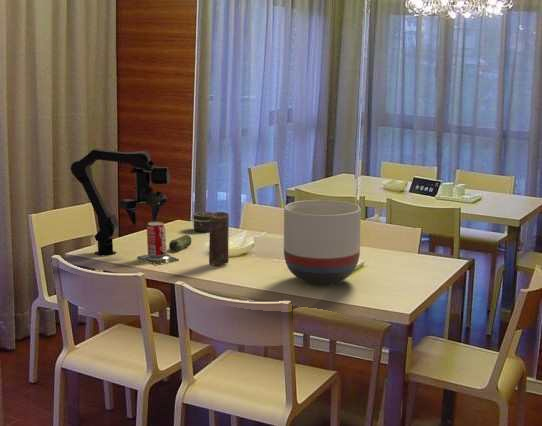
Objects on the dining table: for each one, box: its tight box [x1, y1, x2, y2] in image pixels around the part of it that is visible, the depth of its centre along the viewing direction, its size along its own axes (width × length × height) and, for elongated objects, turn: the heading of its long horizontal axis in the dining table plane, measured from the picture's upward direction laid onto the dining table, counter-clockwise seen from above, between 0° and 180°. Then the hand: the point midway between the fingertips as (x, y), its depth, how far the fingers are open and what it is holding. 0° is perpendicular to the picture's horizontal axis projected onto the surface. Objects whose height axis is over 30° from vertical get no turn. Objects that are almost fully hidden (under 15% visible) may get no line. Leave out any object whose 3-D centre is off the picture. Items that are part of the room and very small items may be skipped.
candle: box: [208, 211, 230, 267], centre depth 312 cm, size 8×7×20 cm
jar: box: [192, 211, 213, 234], centre depth 369 cm, size 10×10×8 cm
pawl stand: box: [136, 253, 180, 265], centre depth 322 cm, size 14×10×1 cm
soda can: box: [146, 221, 167, 258], centre depth 321 cm, size 7×7×13 cm
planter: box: [283, 199, 362, 286], centre depth 290 cm, size 27×27×27 cm
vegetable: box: [168, 234, 192, 252], centre depth 338 cm, size 14×5×5 cm, turn 157°
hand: (144, 222), depth 326 cm, fingers open, 9 cm apart
